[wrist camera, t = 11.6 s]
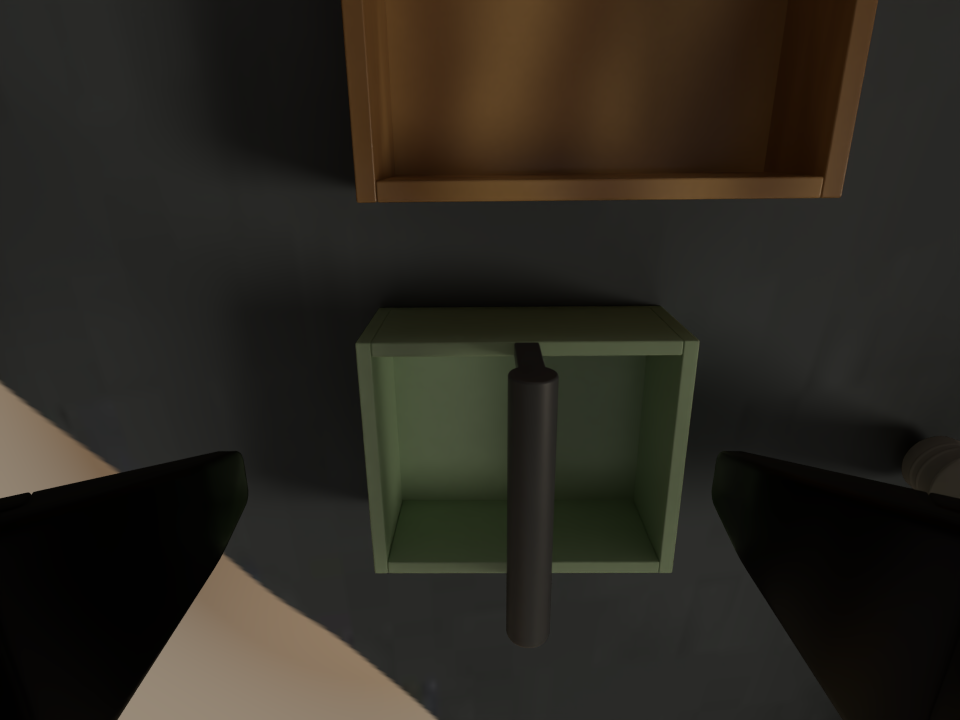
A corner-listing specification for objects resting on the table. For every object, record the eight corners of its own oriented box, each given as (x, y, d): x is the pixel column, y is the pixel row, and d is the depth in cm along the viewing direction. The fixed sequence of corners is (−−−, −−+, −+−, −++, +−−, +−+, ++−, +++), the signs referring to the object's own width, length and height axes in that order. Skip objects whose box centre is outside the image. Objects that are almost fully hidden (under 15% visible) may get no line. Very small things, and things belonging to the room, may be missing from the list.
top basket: (392, 504, 26) (354, 649, 19) (378, 307, 23) (326, 384, 16) (642, 504, 26) (705, 649, 18) (660, 305, 23) (745, 381, 15)
